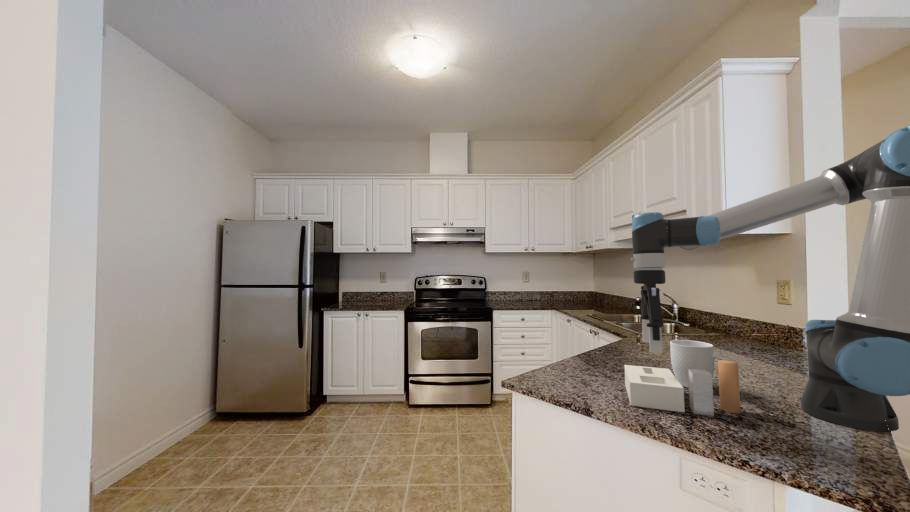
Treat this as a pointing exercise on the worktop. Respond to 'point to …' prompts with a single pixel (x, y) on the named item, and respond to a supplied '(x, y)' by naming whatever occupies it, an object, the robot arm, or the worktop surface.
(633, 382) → the socket block
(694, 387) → the square bit
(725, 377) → the dowel
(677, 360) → the mug
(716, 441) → the worktop surface
